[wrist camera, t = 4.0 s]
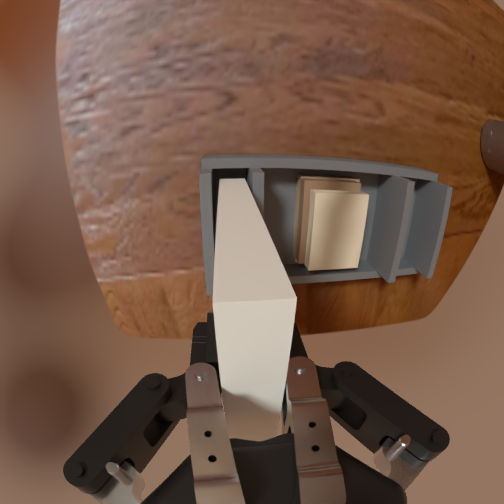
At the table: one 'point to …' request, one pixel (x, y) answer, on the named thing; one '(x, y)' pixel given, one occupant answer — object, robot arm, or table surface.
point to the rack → (377, 220)
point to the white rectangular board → (250, 315)
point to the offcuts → (328, 221)
